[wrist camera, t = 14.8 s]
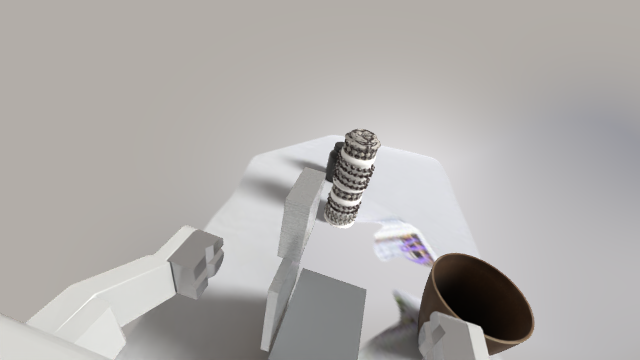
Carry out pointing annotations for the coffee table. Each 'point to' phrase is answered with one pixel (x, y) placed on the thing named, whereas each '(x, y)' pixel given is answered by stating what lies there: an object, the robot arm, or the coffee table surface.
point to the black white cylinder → (351, 177)
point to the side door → (292, 246)
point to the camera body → (321, 320)
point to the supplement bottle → (333, 161)
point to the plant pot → (478, 300)
